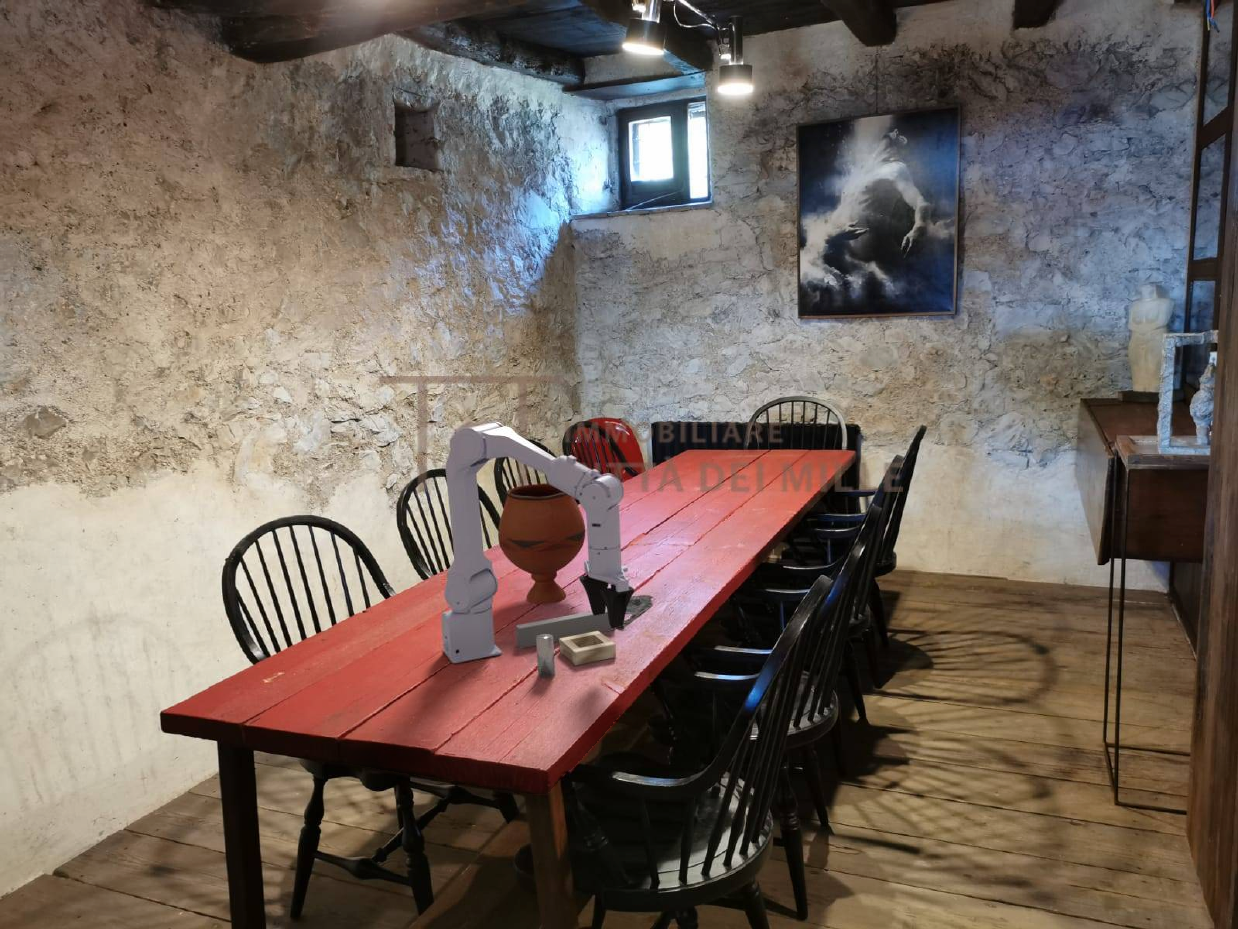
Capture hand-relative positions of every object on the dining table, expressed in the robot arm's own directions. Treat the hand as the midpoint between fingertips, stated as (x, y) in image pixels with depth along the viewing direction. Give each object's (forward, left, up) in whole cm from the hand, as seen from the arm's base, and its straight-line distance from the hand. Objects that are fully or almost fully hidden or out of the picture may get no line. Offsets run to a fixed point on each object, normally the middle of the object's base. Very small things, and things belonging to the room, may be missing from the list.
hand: (607, 620), depth 161 cm
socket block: (0, +9, -10) cm, 13 cm away
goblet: (+5, +45, -10) cm, 47 cm away
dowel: (-10, +4, -10) cm, 15 cm away
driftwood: (+17, +27, -10) cm, 34 cm away
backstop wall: (0, +20, -10) cm, 22 cm away
